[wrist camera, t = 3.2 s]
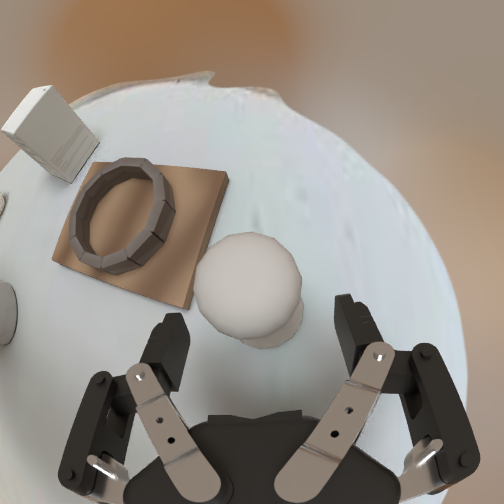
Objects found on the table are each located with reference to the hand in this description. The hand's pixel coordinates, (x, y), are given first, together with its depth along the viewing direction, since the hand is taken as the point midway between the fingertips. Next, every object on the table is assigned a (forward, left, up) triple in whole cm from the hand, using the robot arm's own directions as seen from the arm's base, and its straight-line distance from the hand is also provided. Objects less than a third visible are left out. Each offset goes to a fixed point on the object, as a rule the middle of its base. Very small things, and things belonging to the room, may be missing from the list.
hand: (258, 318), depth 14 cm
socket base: (-16, +6, -8) cm, 19 cm away
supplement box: (-32, +14, -9) cm, 36 cm away
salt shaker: (0, +1, -9) cm, 9 cm away
